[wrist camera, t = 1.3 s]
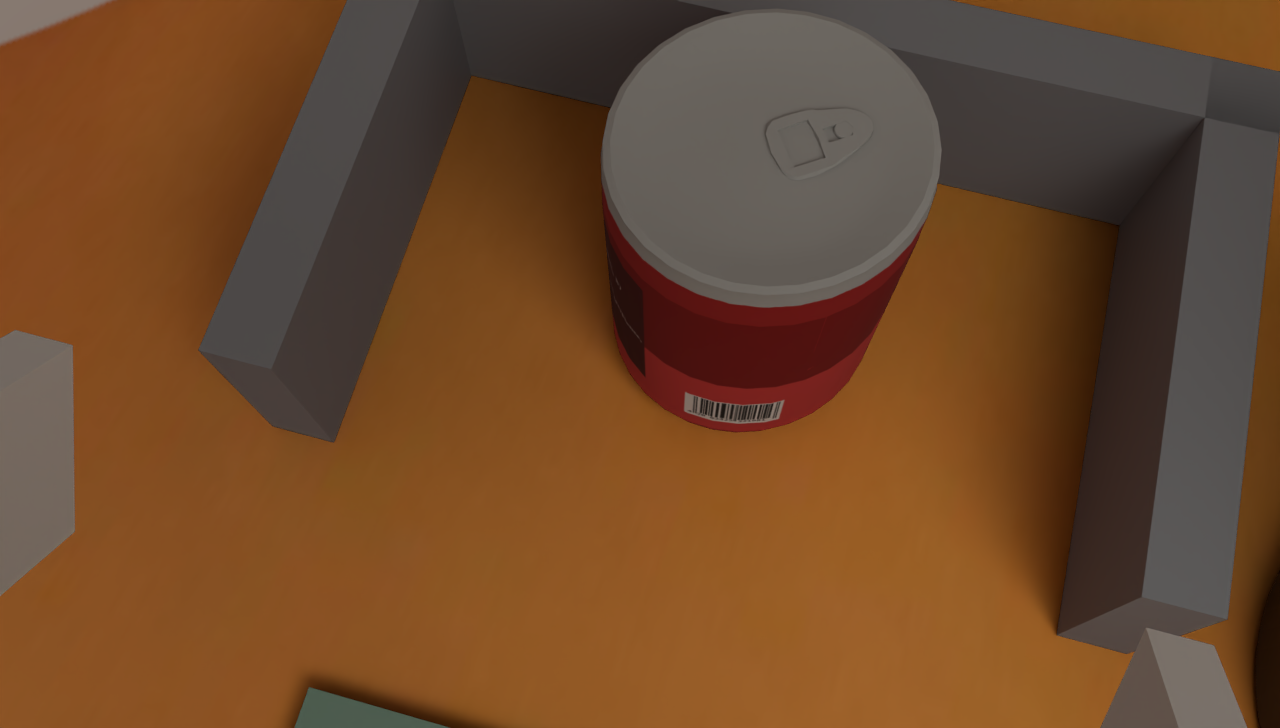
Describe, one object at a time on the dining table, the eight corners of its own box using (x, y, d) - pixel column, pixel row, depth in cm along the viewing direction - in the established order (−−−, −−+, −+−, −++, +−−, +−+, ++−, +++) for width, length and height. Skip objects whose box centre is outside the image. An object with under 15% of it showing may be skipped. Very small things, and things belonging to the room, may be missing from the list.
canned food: (916, 348, 38) (1014, 174, 28) (709, 492, 37) (731, 364, 26) (768, 171, 40) (807, -51, 30) (566, 299, 39) (535, 113, 28)
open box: (1189, 186, 40) (1285, 72, 34) (1127, 653, 35) (1227, 619, 29) (434, 14, 43) (397, -119, 36) (272, 426, 37) (198, 350, 31)
